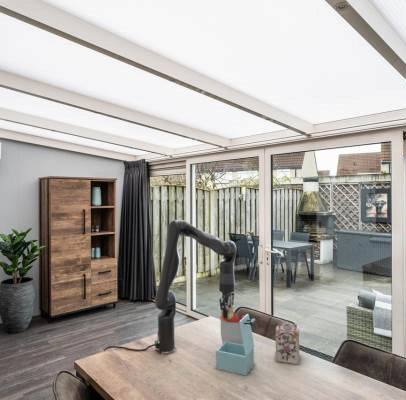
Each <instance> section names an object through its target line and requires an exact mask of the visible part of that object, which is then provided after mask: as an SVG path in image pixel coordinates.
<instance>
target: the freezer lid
mask: <svg viewBox="0 0 406 400" xmlns="http://www.w3.org/2000/svg"><path fill="white" fill-rule="evenodd" d="M244 315H245V316H244V317H243V318H242V319H241V320H240V321H239V323H240V329H241V335H242V340H243V346H244V352H245V356H247V355H248V354H249V352H250V351H251V350H252V349H253V347H254V348H255V341H254V337H253V336H254V335H253V330H252V326H254V324H255V323H256V322H257V319H256V318H252V319H250V314H249V313H247V314H244Z"/></svg>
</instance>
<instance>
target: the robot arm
mask: <svg viewBox="0 0 406 400" xmlns="http://www.w3.org/2000/svg"><path fill="white" fill-rule="evenodd" d="M181 237H187V238H191V239H193V240H194V241H196V242H197V243H198V244H199V245H201V246H202V247H205V248H208V249H209V250H211V251H213V252H214V253H215V254H216V255H218V256H221V257H223V258H222V259H221V260H220V261H219V276H218V277H219V278H218V286H219V287H218V291H219V292H221V293H222V294H221V298H219V299H218V301H219V307H220V311H221V310H223V318H228V311H227V310H228V307H233V306H234V301H235V290H236V288H235V287H236V284H235V261H236V255H237V246H236V243H235V242H234V241H232V240H225V241H223V240H220V238H219V237H218V236H216V235H214V234H211V233H209V232H207V231H204V230H201V229H199V228H198V227H196V226H195V225H193V224H191V223H190V222H188V221H186V220H184V219H174V220H171V221H170V222H169V224H168V226H167V232H166V243H165V251H164V256H163V261H162V267H161V274H160V277H159V282H158V286H157V290H156V292H155V293H156V294H155V297H154V304H155V307H156V308H157V310H160V312H159V313H158V315H157V340H154V344H151V345H148V346H147V347H145V348H141V349H139V348H131V347H126V346H118V345H110V346H109V345H108V346H107V347H105V348H104V349H103V352H105V351H107V350H108V349H124V350H127V351H134V352H145V351H147V350H148V349H150V348H152V347H155V349H157V351H158V354H160V355H161V354H162V355H169V354H173V353H174V352H175V350H176V347H175V346H176V345H175V316H176V312H177V310H176V309H177V299H176V298H177V297H176V294H175V293H174V292H173V290H170V288H171V286H172V284H173V282H174V281H175V279H176V277H177V275H178V273H179V269H180V264H181V256H180V254H179V250H178V245H179V239H180V238H181Z"/></svg>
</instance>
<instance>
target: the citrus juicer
mask: <svg viewBox="0 0 406 400" xmlns="http://www.w3.org/2000/svg"><path fill="white" fill-rule="evenodd" d="M245 315H246V314H242V315H241V316H240V317H239V315H238V314H237V313H236V312H235V311H233V317H232V318H231V319H227V318H221V315H220V316H219V319H220V339H221V342H222V344H223V343H224V342H230V343H235V344H240V345H243V340H242V335H241V329H240V323H239V321H240V320H241V319H242V318H243V317H244V316H245Z"/></svg>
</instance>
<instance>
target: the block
mask: <svg viewBox="0 0 406 400" xmlns="http://www.w3.org/2000/svg"><path fill="white" fill-rule="evenodd" d="M227 311H228V318H227V319H231V318H232V317H233V312H234V307H233V306H232V307H228V310H227ZM220 313H221V314H220V316H221V318H223V310H221V309H220Z"/></svg>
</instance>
